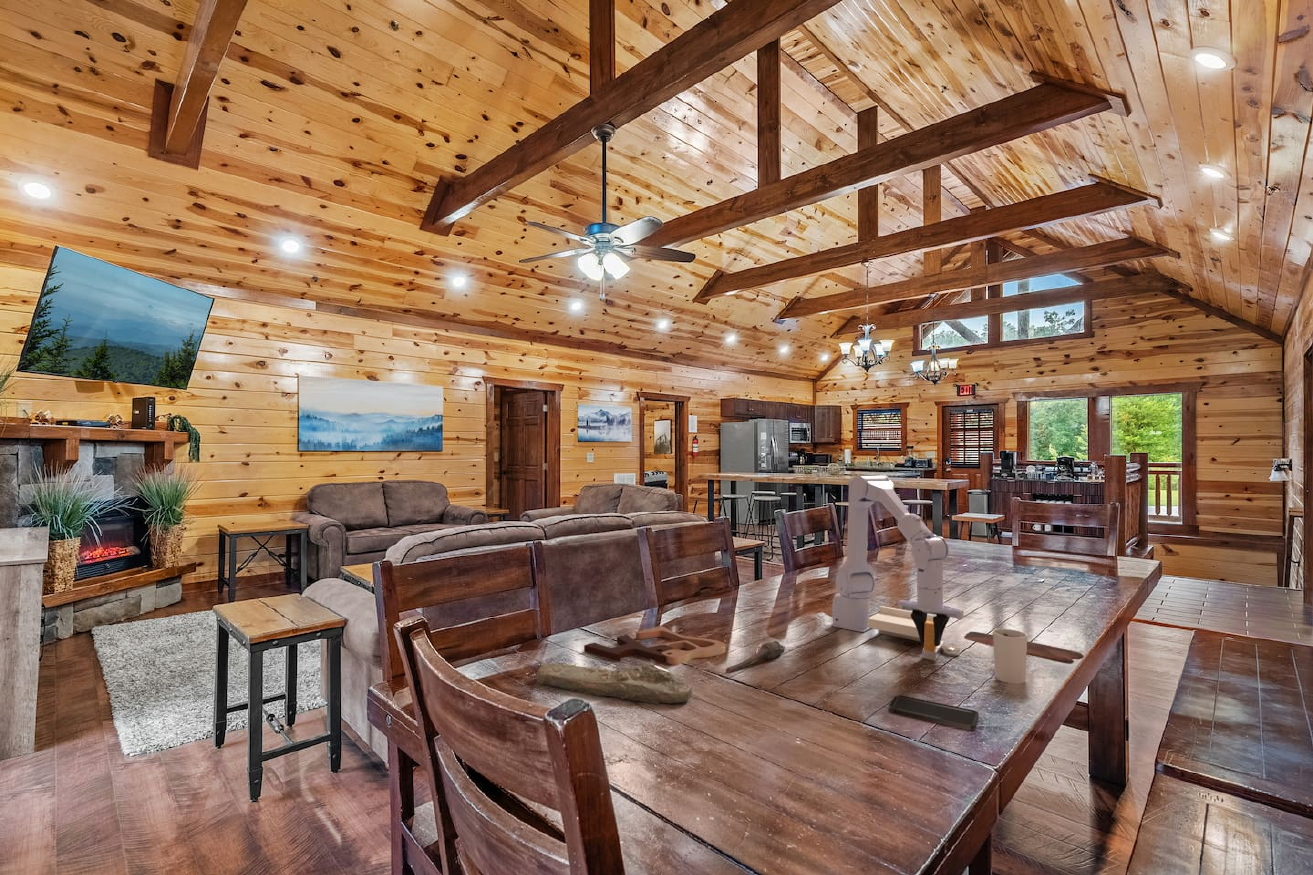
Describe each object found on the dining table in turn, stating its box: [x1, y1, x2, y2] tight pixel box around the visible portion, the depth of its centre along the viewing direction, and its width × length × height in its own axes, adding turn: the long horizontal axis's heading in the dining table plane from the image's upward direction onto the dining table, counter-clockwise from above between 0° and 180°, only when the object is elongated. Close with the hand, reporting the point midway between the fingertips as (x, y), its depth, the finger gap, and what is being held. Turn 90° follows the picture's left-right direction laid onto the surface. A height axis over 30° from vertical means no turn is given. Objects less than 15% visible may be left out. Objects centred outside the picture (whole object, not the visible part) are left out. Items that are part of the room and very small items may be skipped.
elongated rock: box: [536, 662, 693, 705], centre depth 129 cm, size 35×5×10 cm
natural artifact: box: [725, 640, 787, 674], centre depth 147 cm, size 4×23×4 cm
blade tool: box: [921, 621, 945, 662], centre depth 152 cm, size 3×11×8 cm, turn 145°
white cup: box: [992, 628, 1028, 685], centre depth 136 cm, size 7×7×10 cm
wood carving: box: [583, 625, 726, 665], centre depth 153 cm, size 28×2×24 cm
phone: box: [888, 694, 980, 731], centre depth 118 cm, size 8×1×15 cm
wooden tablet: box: [963, 631, 1084, 664], centre depth 158 cm, size 26×2×10 cm
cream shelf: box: [868, 605, 935, 642], centre depth 163 cm, size 14×9×7 cm, turn 49°
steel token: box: [941, 644, 961, 657], centre depth 152 cm, size 4×4×2 cm
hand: (930, 643), depth 149 cm, fingers closed on blade tool, 3 cm apart
